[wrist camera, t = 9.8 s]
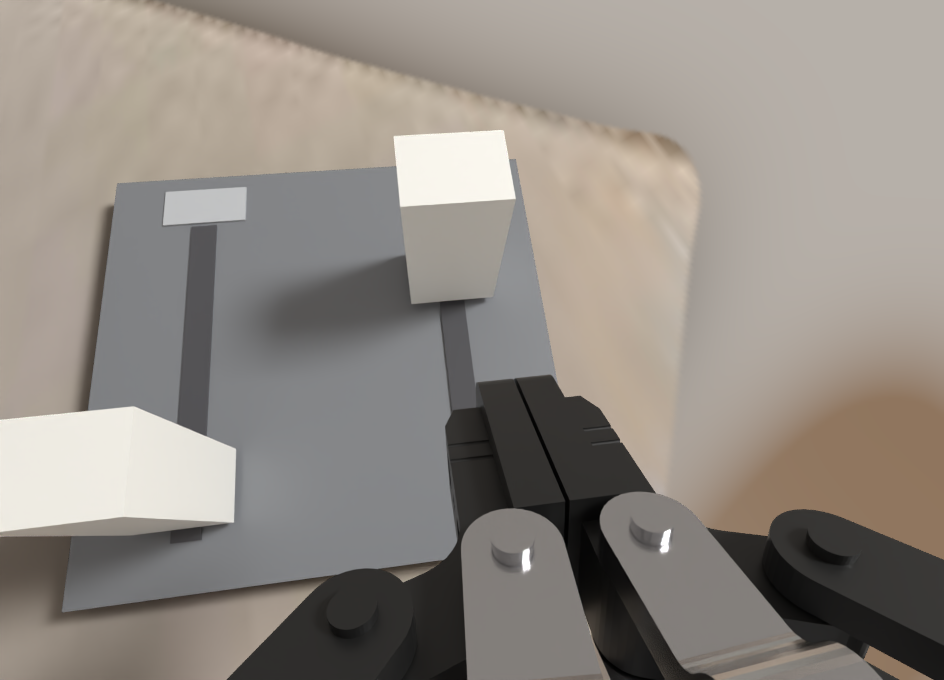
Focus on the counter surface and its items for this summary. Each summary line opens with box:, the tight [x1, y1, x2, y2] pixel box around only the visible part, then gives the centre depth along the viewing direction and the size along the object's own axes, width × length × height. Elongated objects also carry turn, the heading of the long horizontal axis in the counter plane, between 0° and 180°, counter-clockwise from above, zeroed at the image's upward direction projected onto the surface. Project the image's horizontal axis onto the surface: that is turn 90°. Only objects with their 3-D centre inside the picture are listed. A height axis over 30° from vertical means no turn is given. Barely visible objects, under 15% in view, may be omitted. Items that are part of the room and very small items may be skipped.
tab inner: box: [0, 406, 236, 537], centre depth 18 cm, size 4×3×8 cm
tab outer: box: [394, 130, 516, 304], centre depth 22 cm, size 4×3×8 cm
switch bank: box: [62, 159, 558, 612], centre depth 25 cm, size 21×20×2 cm
